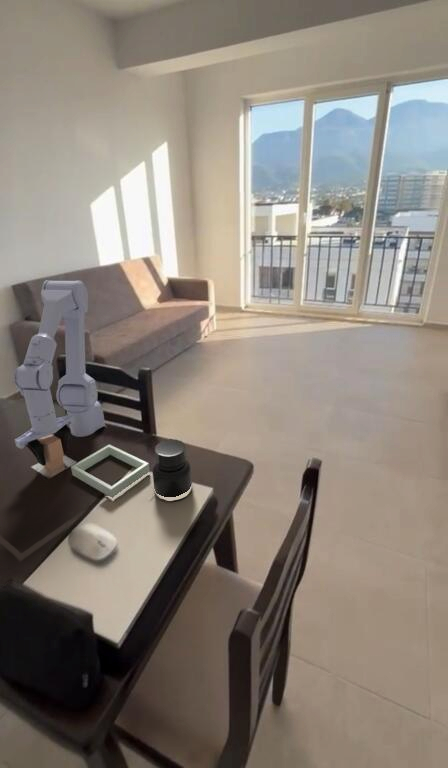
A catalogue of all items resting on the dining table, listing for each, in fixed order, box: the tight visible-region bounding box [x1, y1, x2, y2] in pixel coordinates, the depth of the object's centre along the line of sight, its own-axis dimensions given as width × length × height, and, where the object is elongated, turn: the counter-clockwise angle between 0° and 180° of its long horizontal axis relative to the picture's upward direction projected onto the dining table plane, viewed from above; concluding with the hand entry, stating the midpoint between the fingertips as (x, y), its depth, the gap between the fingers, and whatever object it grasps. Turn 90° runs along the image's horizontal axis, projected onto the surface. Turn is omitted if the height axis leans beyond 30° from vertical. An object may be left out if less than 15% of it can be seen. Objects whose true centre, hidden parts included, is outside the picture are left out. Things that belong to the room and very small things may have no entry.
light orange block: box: [38, 434, 64, 470], centre depth 98 cm, size 3×5×8 cm, turn 55°
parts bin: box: [70, 444, 151, 498], centre depth 96 cm, size 12×15×4 cm
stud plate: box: [30, 454, 78, 479], centre depth 99 cm, size 8×8×4 cm
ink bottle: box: [152, 439, 193, 497], centre depth 89 cm, size 10×9×12 cm
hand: (52, 458), depth 99 cm, fingers open, 5 cm apart
